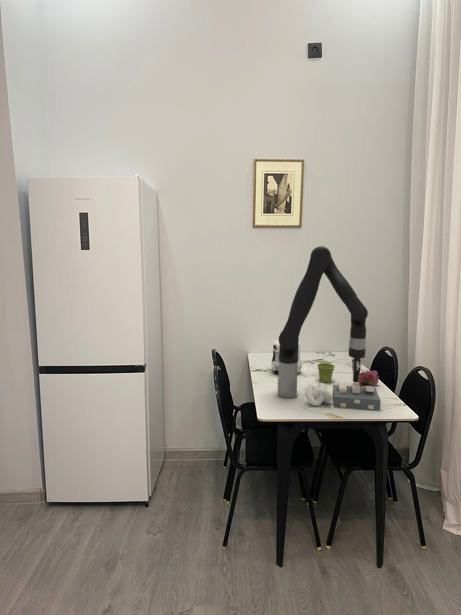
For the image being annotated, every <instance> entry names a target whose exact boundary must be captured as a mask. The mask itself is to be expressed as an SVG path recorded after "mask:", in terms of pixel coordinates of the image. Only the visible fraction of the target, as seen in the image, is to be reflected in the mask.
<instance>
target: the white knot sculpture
mask: <svg viewBox="0 0 461 615" xmlns="http://www.w3.org/2000/svg"><path fill="white" fill-rule="evenodd" d="M304 393H305V398H306V400H307V401H308V403H309V404H310V405H311V406H313V407H319V406H320V405H322V404H329V403H330V402H331V401H332V394H331V393H330V391H329V390H328V389H327V386H326V384H325V383H324V382H319V383H318V384H314V383H310V384H308V385H306V387H305V392H304Z"/></svg>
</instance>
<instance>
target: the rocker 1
mask: <svg viewBox="0 0 461 615" xmlns="http://www.w3.org/2000/svg"><path fill="white" fill-rule="evenodd" d="M338 385H339V393H347V386H348V385H347V381H343V380H342V381H341V380H340V381H338Z"/></svg>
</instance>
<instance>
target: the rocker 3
mask: <svg viewBox="0 0 461 615" xmlns="http://www.w3.org/2000/svg"><path fill="white" fill-rule="evenodd" d="M363 387H365V391H370V392H374V388H373V386H369V385H364V386H363Z"/></svg>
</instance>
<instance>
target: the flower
mask: <svg viewBox="0 0 461 615" xmlns="http://www.w3.org/2000/svg"><path fill="white" fill-rule="evenodd" d="M379 377H380V375H379V374H378V371H376V370H367V371H360V374H359V375H358V382H357V383H359V385H361V384H365V385H368V386H370V385H372V386H377V385H378V383H379V380H380V378H379Z"/></svg>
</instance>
